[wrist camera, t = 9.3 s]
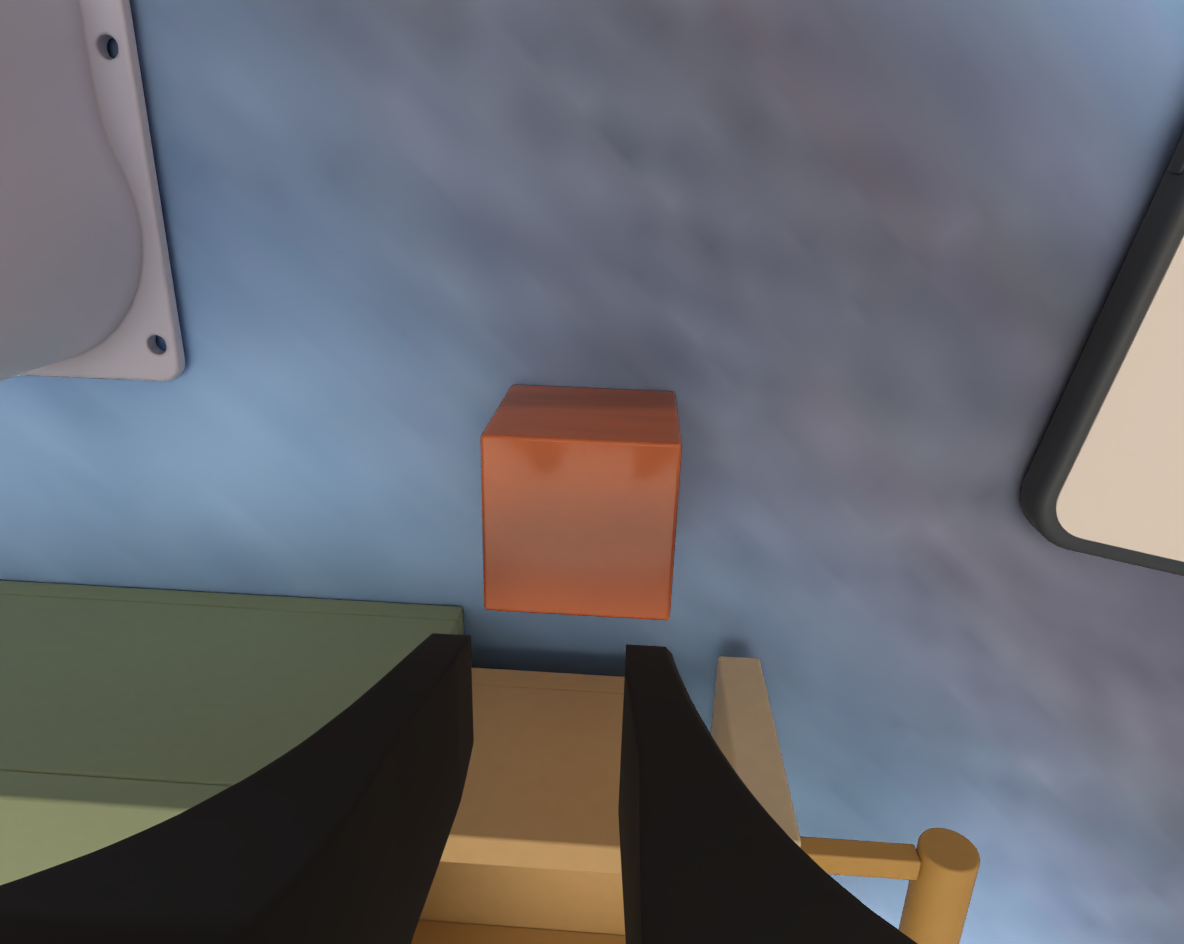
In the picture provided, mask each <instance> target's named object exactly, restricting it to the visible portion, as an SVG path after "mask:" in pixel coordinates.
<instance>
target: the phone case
mask: <svg viewBox="0 0 1184 944" xmlns="http://www.w3.org/2000/svg"><path fill="white" fill-rule="evenodd" d="M1020 502H1021V507H1022V510H1023V513H1024V515H1025V516H1026V518H1027V520H1028V521H1029V522H1030V523H1031V524H1032V525H1033V526H1034V527H1035V528H1036V529H1037V530H1038V531H1039V532H1040V533H1041V534H1042V535H1043V536H1044V537H1045V538H1046V539H1047V540H1048V541H1050V542H1051V543H1053V544H1055V545H1057V546H1059V547H1062V548H1065V549H1068V550H1072V551H1077V552H1081V553H1086V554H1090V555H1094V556H1099V557H1103V558H1108V559H1112V560H1116V561H1121V562H1125V563H1129V564H1134V565H1138V566H1143V567H1147V568H1151V569H1156V570H1160V571H1165V572H1169V573H1173V574H1178V575H1182V576H1184V133H1183V135H1182V137H1181V139H1180V141H1179V143H1178V146H1177V148H1176V150H1175V152H1174V154H1173V156H1172V159H1171V161H1170V163H1169V165H1168V167H1167V170H1166V172H1165V174H1164V176H1163V178H1162V180H1161V183H1160V185H1159V187H1158V189H1157V191H1156V193H1155V196H1154V198H1153V200H1152V202H1151V204H1150V207H1149V209H1148V211H1147V213H1146V215H1145V217H1144V220H1143V222H1142V224H1141V226H1140V228H1139V230H1138V233H1137V235H1136V237H1135V239H1134V241H1133V243H1132V246H1131V248H1130V250H1129V252H1128V254H1127V257H1126V259H1125V261H1124V263H1123V265H1122V267H1121V270H1120V272H1119V274H1118V276H1117V278H1116V280H1115V283H1114V285H1113V287H1112V289H1111V291H1110V293H1109V296H1108V298H1107V300H1106V302H1105V304H1104V307H1103V309H1102V311H1101V313H1100V315H1099V317H1098V320H1097V322H1096V324H1095V326H1094V328H1093V330H1092V333H1091V335H1090V337H1089V339H1088V341H1087V343H1086V346H1085V348H1084V350H1083V352H1082V354H1081V357H1080V359H1079V361H1078V363H1077V365H1076V367H1075V370H1074V372H1073V374H1072V376H1071V378H1070V380H1069V383H1068V385H1067V387H1066V389H1065V391H1064V393H1063V396H1062V398H1061V400H1060V402H1059V404H1058V407H1057V409H1056V411H1055V413H1054V415H1053V417H1052V420H1051V422H1050V424H1049V426H1048V428H1047V430H1046V433H1045V435H1044V437H1043V439H1042V441H1041V444H1040V446H1039V448H1038V450H1037V452H1036V454H1035V457H1034V459H1033V461H1032V463H1031V465H1030V467H1029V470H1028V472H1027V474H1026V476H1025V478H1024V481H1023V484H1022V487H1021V492H1020Z"/></svg>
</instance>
